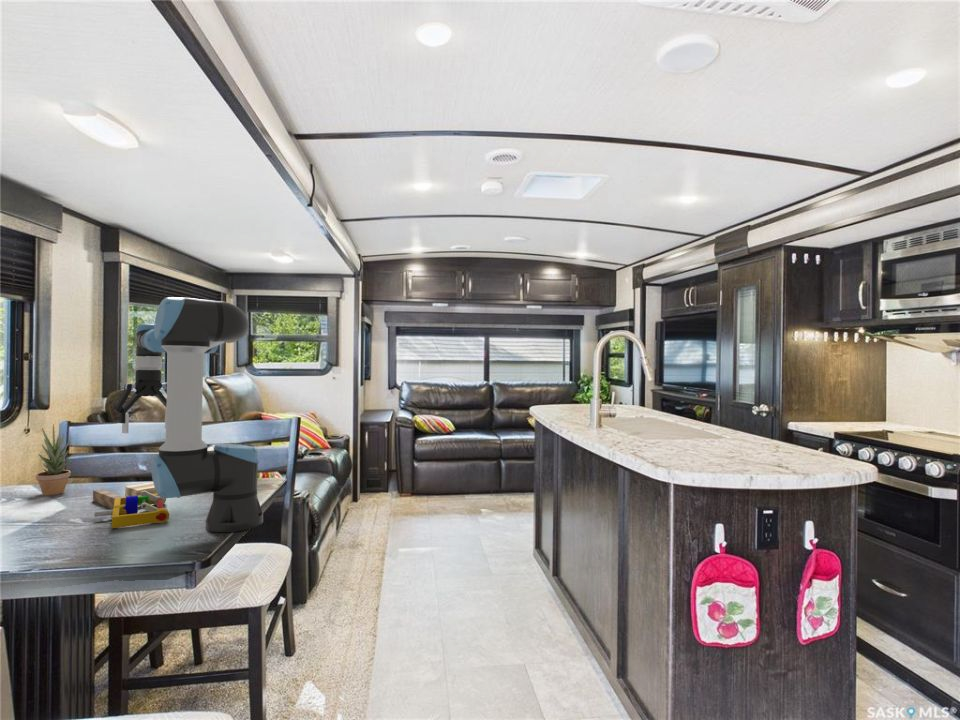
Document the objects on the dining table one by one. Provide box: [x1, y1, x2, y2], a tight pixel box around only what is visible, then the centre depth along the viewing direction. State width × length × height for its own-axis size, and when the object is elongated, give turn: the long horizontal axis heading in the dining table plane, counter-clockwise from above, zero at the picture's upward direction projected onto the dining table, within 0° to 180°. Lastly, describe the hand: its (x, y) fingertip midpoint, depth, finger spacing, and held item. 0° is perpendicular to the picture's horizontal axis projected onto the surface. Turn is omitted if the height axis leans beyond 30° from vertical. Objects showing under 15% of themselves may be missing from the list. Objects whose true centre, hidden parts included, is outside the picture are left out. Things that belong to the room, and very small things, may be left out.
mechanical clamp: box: [94, 491, 170, 529], centre depth 159 cm, size 18×6×30 cm
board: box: [92, 488, 125, 510], centre depth 170 cm, size 18×2×4 cm, turn 55°
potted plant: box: [35, 423, 73, 496], centre depth 183 cm, size 10×10×25 cm
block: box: [124, 481, 157, 497], centre depth 181 cm, size 9×9×4 cm
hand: (147, 431), depth 178 cm, fingers open, 13 cm apart
